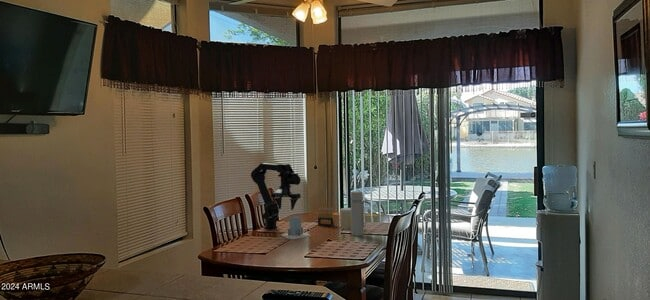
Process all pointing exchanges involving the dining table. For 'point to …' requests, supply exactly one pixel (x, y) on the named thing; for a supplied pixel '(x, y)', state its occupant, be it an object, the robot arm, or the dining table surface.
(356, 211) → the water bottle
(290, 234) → the base plate
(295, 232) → the block
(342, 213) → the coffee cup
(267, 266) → the dining table surface
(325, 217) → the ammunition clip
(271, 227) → the robot arm
